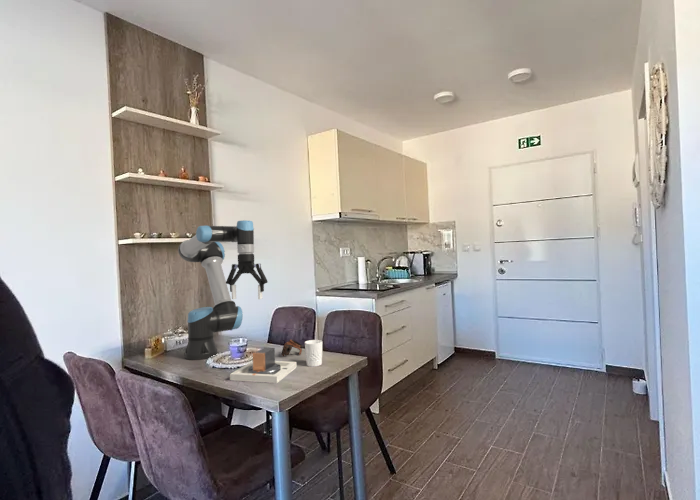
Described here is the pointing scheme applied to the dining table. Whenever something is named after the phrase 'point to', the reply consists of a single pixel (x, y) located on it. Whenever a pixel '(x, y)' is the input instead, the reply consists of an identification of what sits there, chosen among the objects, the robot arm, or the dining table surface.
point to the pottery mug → (288, 347)
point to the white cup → (313, 352)
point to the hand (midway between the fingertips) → (247, 298)
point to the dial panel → (275, 378)
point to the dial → (264, 362)
